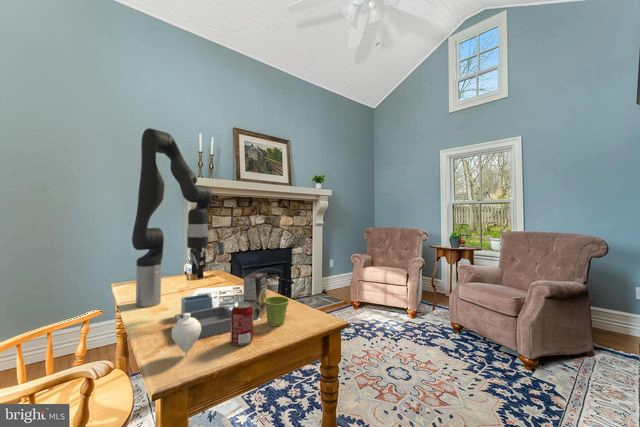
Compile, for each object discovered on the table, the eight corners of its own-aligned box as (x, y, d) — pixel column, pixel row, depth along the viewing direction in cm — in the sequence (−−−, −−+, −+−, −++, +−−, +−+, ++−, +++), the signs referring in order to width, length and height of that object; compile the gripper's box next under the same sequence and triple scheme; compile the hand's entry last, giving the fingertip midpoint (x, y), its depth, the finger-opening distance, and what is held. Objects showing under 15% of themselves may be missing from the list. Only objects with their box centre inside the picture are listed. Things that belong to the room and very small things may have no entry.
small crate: (181, 315, 109) (181, 297, 109) (207, 310, 115) (207, 293, 115) (184, 320, 105) (184, 302, 105) (211, 314, 111) (212, 297, 111)
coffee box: (257, 320, 106) (258, 277, 106) (242, 318, 107) (243, 276, 107) (267, 311, 115) (267, 272, 115) (252, 310, 116) (253, 271, 116)
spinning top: (195, 362, 76) (195, 318, 76) (166, 363, 75) (166, 319, 75) (204, 348, 83) (205, 308, 83) (178, 349, 83) (178, 309, 83)
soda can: (253, 345, 86) (253, 307, 86) (230, 348, 84) (230, 308, 84) (252, 336, 92) (252, 300, 92) (230, 338, 90) (231, 301, 90)
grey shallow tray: (174, 326, 99) (174, 314, 99) (225, 315, 110) (225, 305, 110) (183, 342, 87) (183, 329, 87) (239, 328, 98) (239, 317, 98)
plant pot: (273, 316, 110) (273, 294, 110) (293, 321, 106) (293, 298, 105) (257, 325, 101) (258, 301, 101) (279, 330, 97) (279, 305, 97)
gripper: (183, 234, 113) (183, 274, 113) (191, 237, 102) (191, 281, 102) (202, 233, 118) (202, 272, 118) (212, 236, 106) (212, 278, 106)
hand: (197, 276), depth 110 cm, fingers open, 8 cm apart
